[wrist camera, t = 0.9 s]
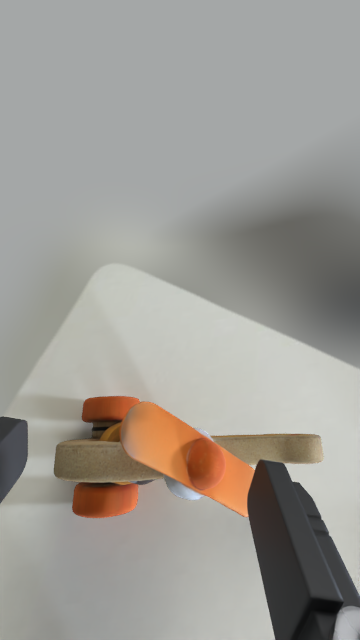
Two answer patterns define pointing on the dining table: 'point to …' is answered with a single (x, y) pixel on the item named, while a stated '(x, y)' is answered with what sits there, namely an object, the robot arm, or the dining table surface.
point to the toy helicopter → (165, 458)
